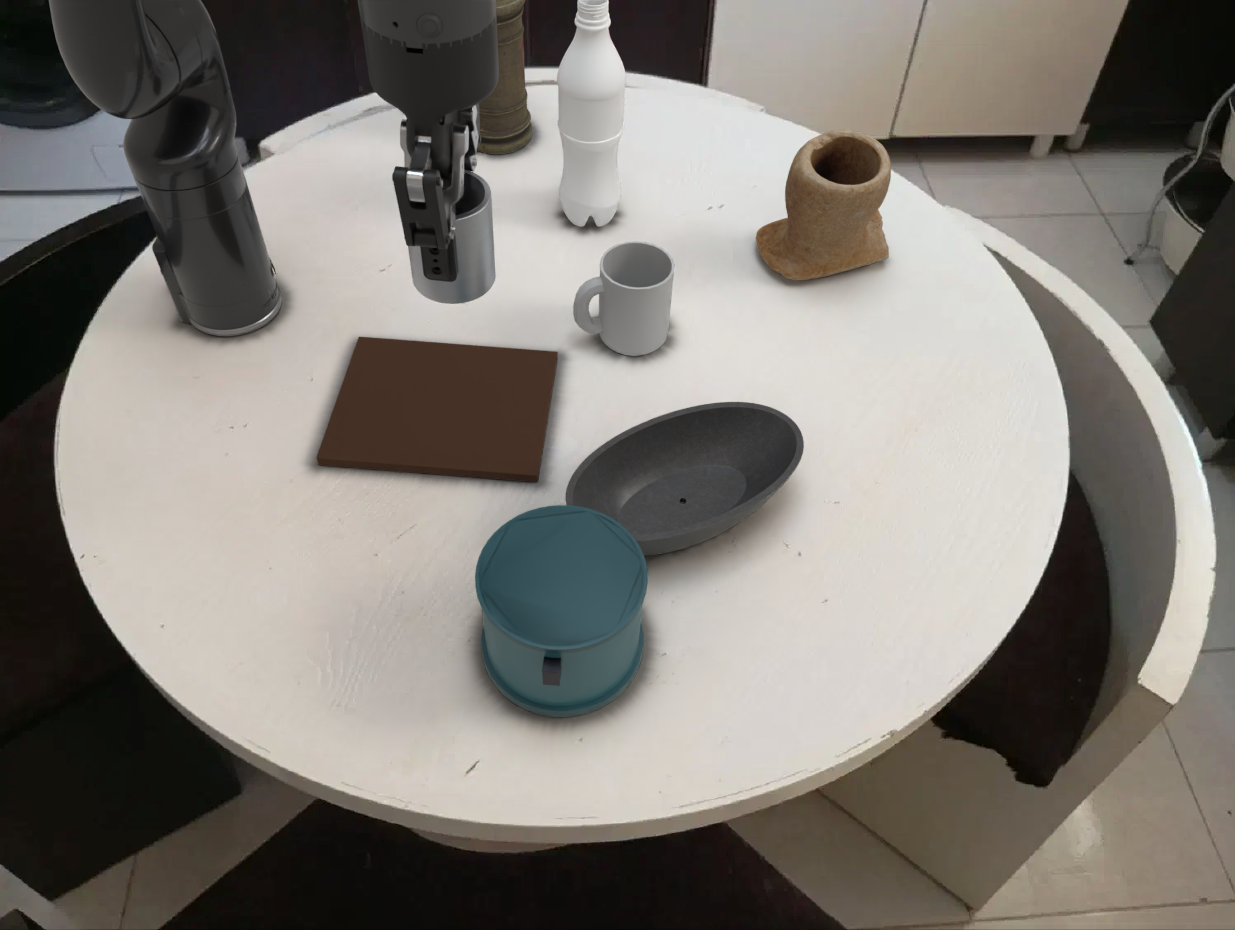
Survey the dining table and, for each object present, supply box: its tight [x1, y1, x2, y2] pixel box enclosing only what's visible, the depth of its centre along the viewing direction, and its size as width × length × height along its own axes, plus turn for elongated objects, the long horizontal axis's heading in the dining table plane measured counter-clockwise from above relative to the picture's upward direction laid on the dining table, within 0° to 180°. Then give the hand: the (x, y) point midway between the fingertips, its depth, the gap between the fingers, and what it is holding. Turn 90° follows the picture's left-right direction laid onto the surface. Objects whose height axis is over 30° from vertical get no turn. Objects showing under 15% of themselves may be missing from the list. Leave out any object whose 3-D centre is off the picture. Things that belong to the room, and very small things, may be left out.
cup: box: [572, 240, 675, 357], centre depth 98 cm, size 7×10×9 cm
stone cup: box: [755, 129, 892, 281], centre depth 105 cm, size 15×12×15 cm
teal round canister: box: [474, 504, 649, 718], centre depth 75 cm, size 13×14×10 cm
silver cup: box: [407, 170, 497, 305], centre depth 67 cm, size 6×6×7 cm
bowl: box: [564, 401, 805, 556], centre depth 85 cm, size 12×22×6 cm, turn 119°
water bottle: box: [556, 0, 627, 228], centre depth 105 cm, size 7×7×25 cm
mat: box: [315, 336, 559, 483], centre depth 94 cm, size 20×16×1 cm
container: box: [477, 0, 533, 155], centre depth 118 cm, size 9×9×18 cm
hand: (450, 246), depth 68 cm, fingers closed on silver cup, 6 cm apart
